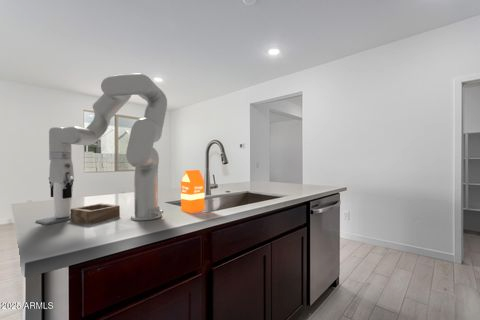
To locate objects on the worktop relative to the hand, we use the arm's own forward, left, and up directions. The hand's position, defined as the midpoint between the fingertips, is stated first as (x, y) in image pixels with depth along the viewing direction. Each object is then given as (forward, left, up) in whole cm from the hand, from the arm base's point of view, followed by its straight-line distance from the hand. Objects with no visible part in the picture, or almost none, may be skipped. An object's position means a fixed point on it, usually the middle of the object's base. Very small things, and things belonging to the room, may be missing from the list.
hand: (61, 197), depth 99 cm
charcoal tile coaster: (0, 0, -10) cm, 10 cm away
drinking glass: (0, 0, -9) cm, 9 cm away
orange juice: (-40, -38, -10) cm, 56 cm away
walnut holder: (-12, -7, -10) cm, 17 cm away
